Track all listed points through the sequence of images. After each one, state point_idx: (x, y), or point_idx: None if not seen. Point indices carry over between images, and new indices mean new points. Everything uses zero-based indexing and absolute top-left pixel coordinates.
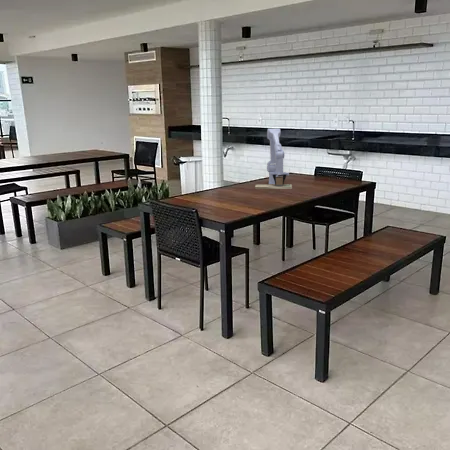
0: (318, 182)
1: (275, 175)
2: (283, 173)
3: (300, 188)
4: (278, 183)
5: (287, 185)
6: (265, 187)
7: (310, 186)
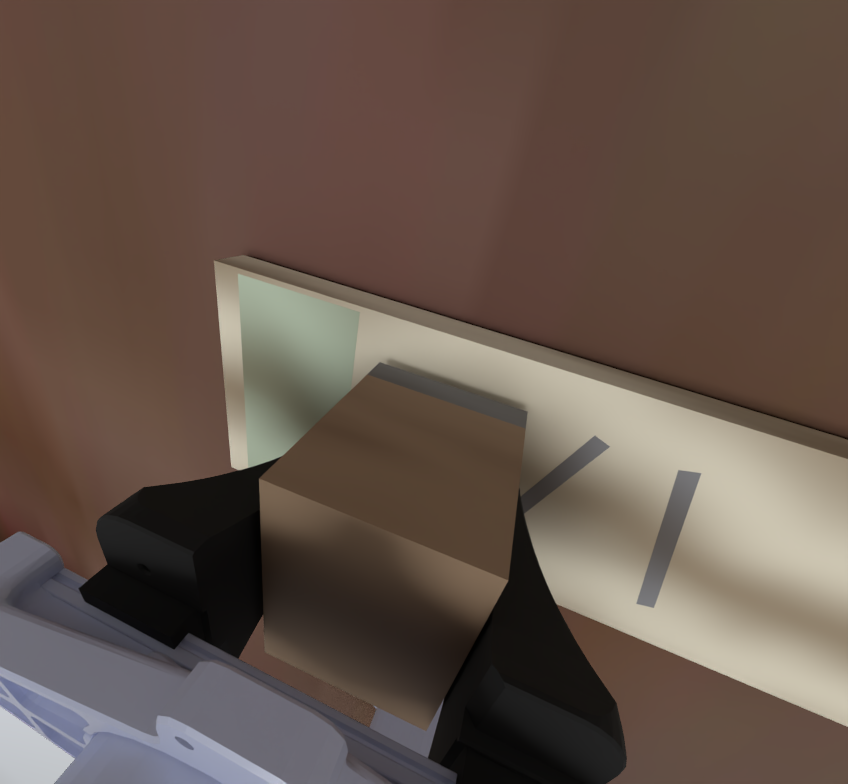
0: (44, 517)
1: (472, 763)
2: (71, 678)
3: (129, 275)
4: (459, 422)
5: (289, 424)
6: (835, 451)
7: (49, 372)
